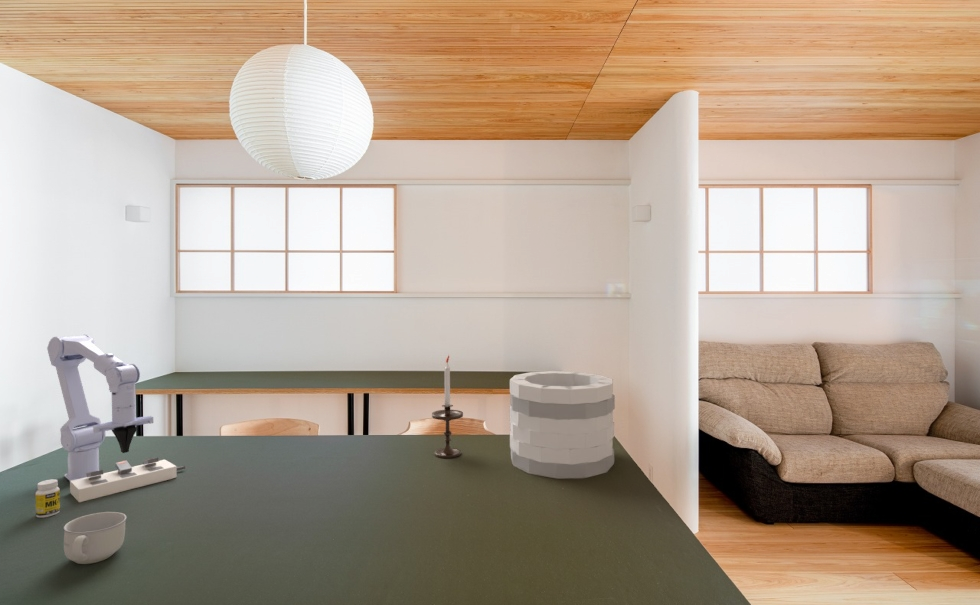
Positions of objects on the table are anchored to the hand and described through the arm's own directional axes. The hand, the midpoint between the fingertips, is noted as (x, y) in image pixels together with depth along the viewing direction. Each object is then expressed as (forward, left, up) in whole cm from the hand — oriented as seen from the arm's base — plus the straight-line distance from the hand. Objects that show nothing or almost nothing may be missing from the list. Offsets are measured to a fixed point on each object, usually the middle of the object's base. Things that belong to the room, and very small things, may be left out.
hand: (124, 451), depth 152 cm
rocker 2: (-1, 0, -5) cm, 5 cm away
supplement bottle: (+8, -19, -10) cm, 23 cm away
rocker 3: (-1, +7, -5) cm, 9 cm away
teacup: (+45, -18, -10) cm, 50 cm away
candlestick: (+54, +81, -10) cm, 98 cm away
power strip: (0, +2, -10) cm, 10 cm away
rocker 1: (-1, -7, -5) cm, 9 cm away
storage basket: (+88, +101, -10) cm, 134 cm away
